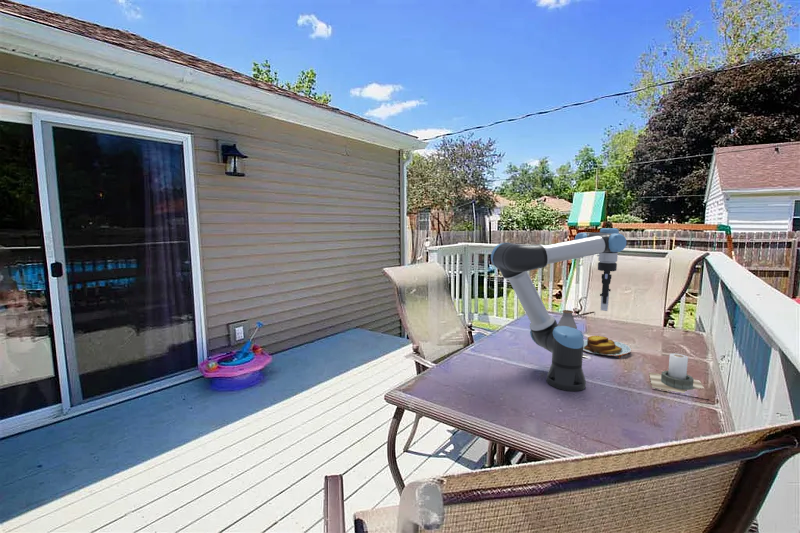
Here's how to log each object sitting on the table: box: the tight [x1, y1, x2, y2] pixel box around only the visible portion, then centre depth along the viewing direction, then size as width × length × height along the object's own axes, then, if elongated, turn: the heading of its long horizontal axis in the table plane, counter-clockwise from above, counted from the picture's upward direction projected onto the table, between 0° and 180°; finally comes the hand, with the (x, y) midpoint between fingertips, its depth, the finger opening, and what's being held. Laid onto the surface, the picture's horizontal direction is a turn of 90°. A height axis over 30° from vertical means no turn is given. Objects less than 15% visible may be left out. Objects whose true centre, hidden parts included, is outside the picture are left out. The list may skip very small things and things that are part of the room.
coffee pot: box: [557, 309, 596, 330], centre depth 226 cm, size 21×12×15 cm, turn 49°
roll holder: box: [648, 370, 705, 393], centre depth 151 cm, size 18×18×4 cm
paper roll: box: [667, 352, 689, 380], centre depth 151 cm, size 6×6×12 cm
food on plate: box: [583, 335, 632, 359], centre depth 195 cm, size 25×25×7 cm
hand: (604, 307), depth 169 cm, fingers open, 13 cm apart
